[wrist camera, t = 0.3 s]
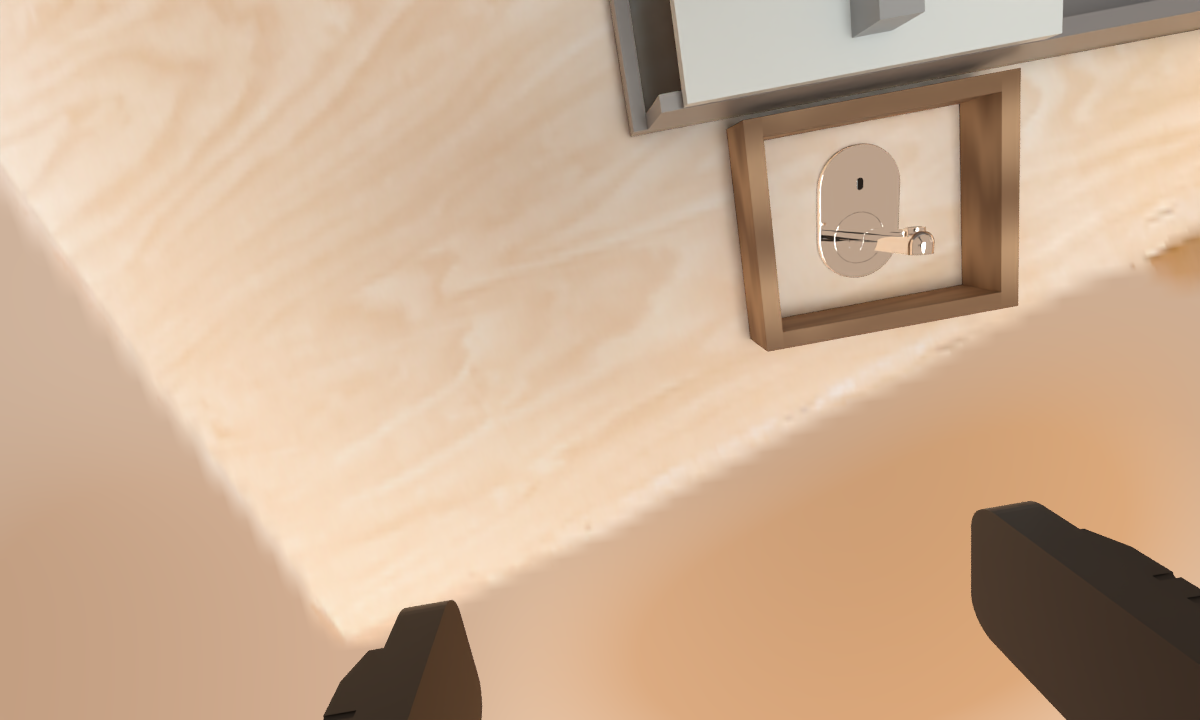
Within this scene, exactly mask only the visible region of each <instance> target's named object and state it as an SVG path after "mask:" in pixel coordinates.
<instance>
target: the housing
mask: <svg viewBox="0 0 1200 720" xmlns="http://www.w3.org/2000/svg"><path fill="white" fill-rule="evenodd" d="M610 6H611V13H612V19H613V25H614V32H615V38H616V45H617V51H618V57H619V64H620V70H621V77H622V83H623V89H624V96H625V102H626V109H627V115H628V121H629V128H630V134H631V137H632V136H637V135H642V134H648V133H653V132H658V131H663V130H669V129H674V128H679V127H685V126H690V125H695V124H701V123H706V122H711V121H716V120H722V119H727V118H732V117H738V116H743V115H748V114H753V113H759V112H764V111H769V110H775V109H780V108H785V107H791V106H796V105H801V104H806V103H812V102H817V101H822V100H828V99H833V98H838V97H843V96H849V95H854V94H859V93H865V92H870V91H875V90H881V89H886V88H891V87H896V86H902V85H907V84H912V83H918V82H923V81H928V80H933V79H939V78H944V77H949V76H955V75H960V74H965V73H971V72H976V71H981V70H986V69H992V68H997V67H1002V66H1008V65H1013V64H1018V63H1023V62H1029V61H1034V60H1039V59H1045V58H1050V57H1055V56H1061V55H1066V54H1071V53H1076V52H1082V51H1087V50H1092V49H1098V48H1103V47H1108V46H1113V45H1119V44H1124V43H1129V42H1135V41H1140V40H1145V39H1151V38H1156V37H1161V36H1166V35H1172V34H1177V33H1182V32H1188V31H1193V30H1198V29H1200V0H1063V22H1062V33H1061V34H1059V35H1056V36H1053V37H1050V38H1048V39H1044V40H1039V41H1034V42H1028V43H1023V44H1018V45H1012V46H1007V47H1002V48H997V49H991V50H986V51H981V52H975V53H970V54H965V55H960V56H954V57H949V58H944V59H939V60H933V61H928V62H923V63H917V64H912V65H907V66H902V67H896V68H891V69H886V70H880V71H875V72H870V73H865V74H859V75H854V76H849V77H843V78H838V79H833V80H828V81H822V82H817V83H812V84H806V85H801V86H796V87H791V88H785V89H780V90H775V91H769V92H764V93H759V94H754V95H748V96H743V97H738V98H732V99H727V100H722V101H717V102H711V103H706V104H701V105H696V106H690V107H685V108H684V104H683V96H682V90H680V91H675V92H670V93H664V94H659V95H658V97H657V98H656V100H655V101H654V103H653V104H652V106H651V107H650V109H649V110H648V112H647V113H646V112H645V106H644V99H643V92H642V85H641V79H640V72H639V65H638V59H637V52H636V45H635V38H634V32H633V25H632V18H631V11H630V5H629V0H610Z"/></svg>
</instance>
